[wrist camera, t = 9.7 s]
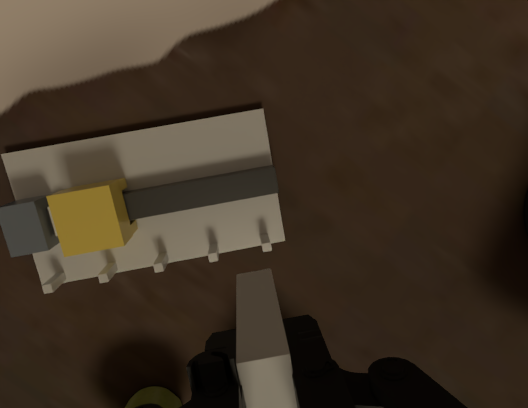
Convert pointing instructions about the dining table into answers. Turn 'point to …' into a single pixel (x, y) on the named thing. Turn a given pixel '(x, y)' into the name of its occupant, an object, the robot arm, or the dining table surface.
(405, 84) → the dining table surface
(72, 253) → the yellow sliding cube
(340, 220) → the dining table surface
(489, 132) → the dining table surface
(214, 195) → the white pegged slab
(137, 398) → the plant pot
